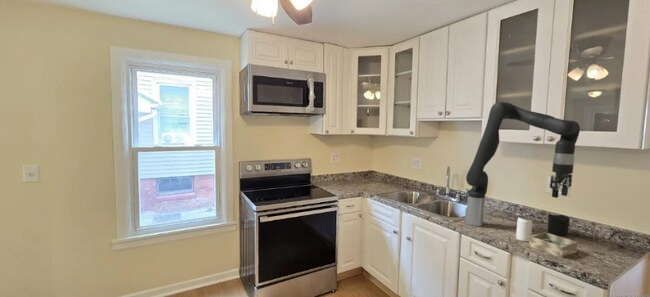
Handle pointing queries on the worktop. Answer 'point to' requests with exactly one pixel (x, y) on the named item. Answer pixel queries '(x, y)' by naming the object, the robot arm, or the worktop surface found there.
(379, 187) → the worktop surface
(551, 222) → the pen holder
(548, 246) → the bore box
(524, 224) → the can
